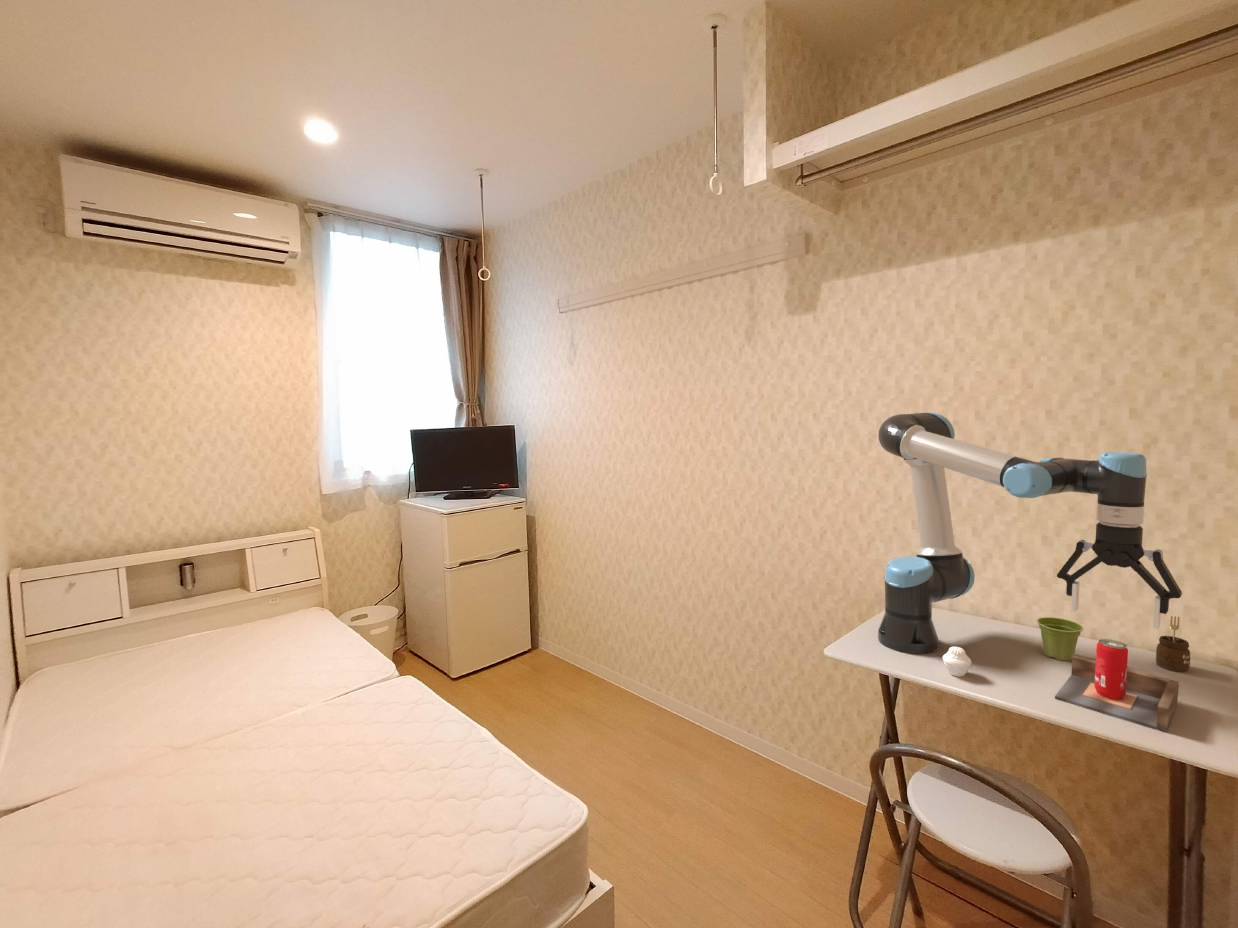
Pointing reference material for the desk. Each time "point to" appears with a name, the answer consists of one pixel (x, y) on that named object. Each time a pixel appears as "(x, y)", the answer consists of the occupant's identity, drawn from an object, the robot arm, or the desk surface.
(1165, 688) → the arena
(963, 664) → the muffin
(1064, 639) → the plant pot
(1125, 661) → the beverage can
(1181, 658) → the utensil holder
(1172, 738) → the desk surface
